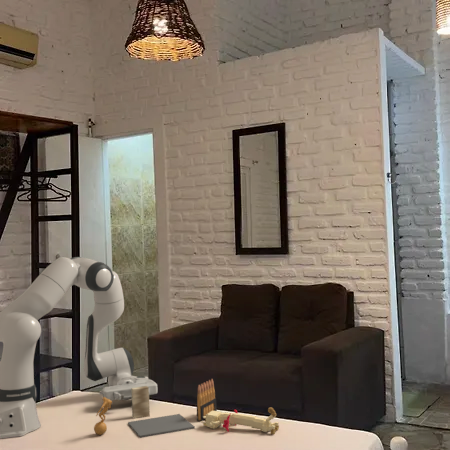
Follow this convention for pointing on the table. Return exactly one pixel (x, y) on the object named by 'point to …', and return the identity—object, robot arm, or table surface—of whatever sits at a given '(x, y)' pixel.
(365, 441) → the table surface
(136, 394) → the pale green streaked tile
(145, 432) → the rubber mat
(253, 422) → the cat figure
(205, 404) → the ammunition clip
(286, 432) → the table surface
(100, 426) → the figurine
